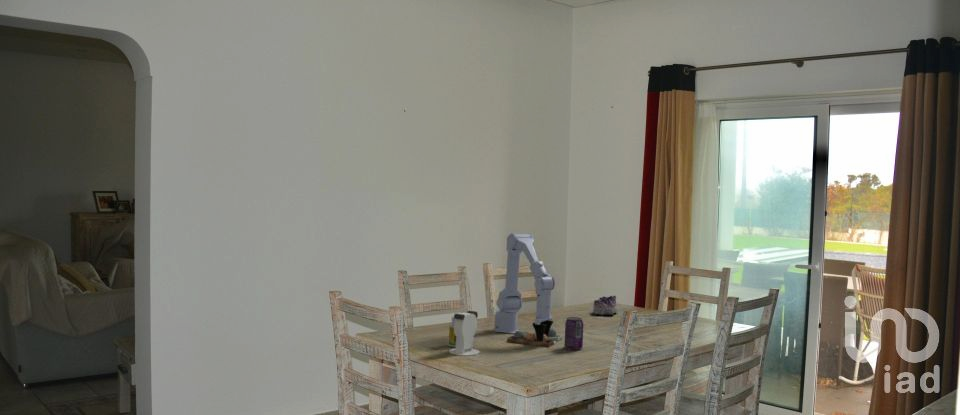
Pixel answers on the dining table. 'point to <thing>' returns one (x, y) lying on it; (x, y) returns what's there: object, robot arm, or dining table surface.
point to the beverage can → (574, 333)
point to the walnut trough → (530, 342)
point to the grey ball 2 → (552, 333)
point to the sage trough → (556, 338)
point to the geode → (605, 306)
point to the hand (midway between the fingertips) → (542, 339)
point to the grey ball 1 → (518, 335)
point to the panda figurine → (465, 333)
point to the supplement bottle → (452, 334)
